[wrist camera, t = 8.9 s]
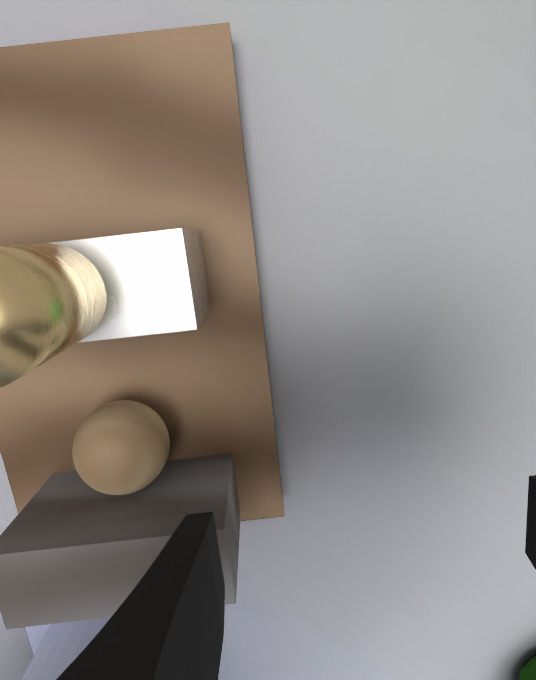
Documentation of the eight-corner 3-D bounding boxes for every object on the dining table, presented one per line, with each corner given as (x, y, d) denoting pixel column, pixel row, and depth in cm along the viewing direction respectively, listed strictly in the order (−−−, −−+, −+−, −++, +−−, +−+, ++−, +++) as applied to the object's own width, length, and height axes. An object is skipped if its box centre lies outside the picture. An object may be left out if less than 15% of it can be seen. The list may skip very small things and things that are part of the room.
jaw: (210, 307, 17) (171, 370, 9) (9, 329, 17) (-202, 411, 9) (199, 229, 16) (147, 225, 8) (-11, 252, 16) (-261, 270, 8)
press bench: (282, 496, 21) (294, 608, 15) (43, 523, 21) (-48, 646, 15) (231, 41, 16) (216, -82, 10) (-80, 75, 16) (-294, -26, 10)
